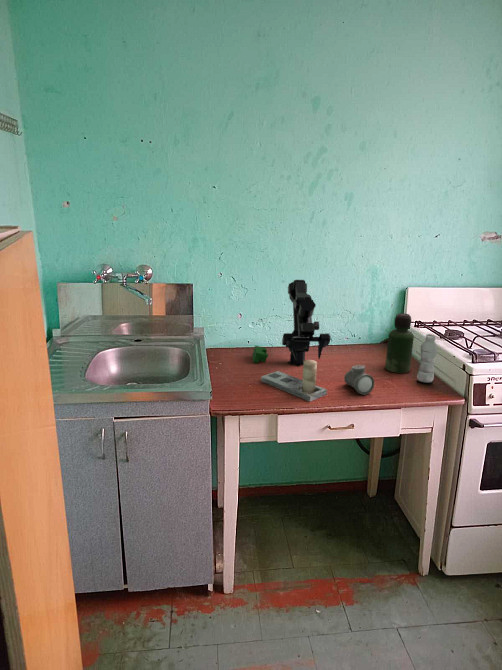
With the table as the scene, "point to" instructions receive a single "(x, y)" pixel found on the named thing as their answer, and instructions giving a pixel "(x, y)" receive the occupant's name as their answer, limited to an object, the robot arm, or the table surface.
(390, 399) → the table surface
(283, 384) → the grey slotted plate
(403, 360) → the green bottle
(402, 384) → the table surface
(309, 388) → the pin
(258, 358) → the clamp
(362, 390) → the pipe fitting
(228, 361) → the table surface
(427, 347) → the plastic bottle
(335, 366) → the table surface
